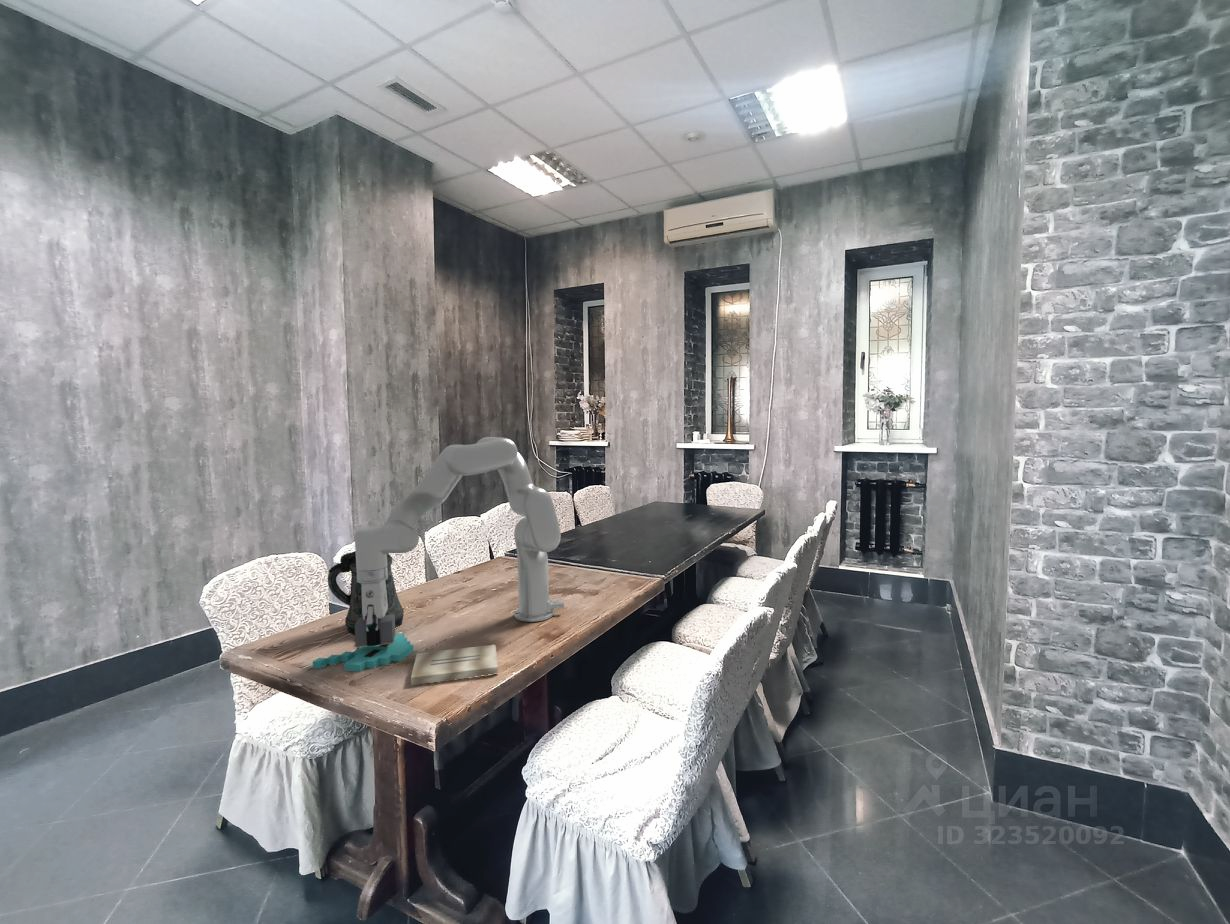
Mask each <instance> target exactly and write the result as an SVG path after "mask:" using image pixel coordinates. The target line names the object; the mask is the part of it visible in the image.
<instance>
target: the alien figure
mask: <svg viewBox="0 0 1230 924" xmlns="http://www.w3.org/2000/svg"><path fill="white" fill-rule="evenodd" d="M395 633H396V632H395ZM413 652H414V644H411V640H408V637H407V636H405V633H396V636H395V639H394V642H393V643H392V644H383V645H375V646H365V647H358V648H357V649H356V650H354V651H345V652H342V653H341V654H331V655H329V656H328V657H318V658H316V659H314V660H313V661H312V668H313V667H314V668H313V669H317V668H321V669H323V668H324V667H326V666H328V665H327V664H331V665H330V666H336V665H337V663H338V664H339V663H340V661H343V662H342V663H343V668H344V670H343V671H345V670H350V671H349V672H359V671H361V672H362V671H364V670H365V669H367V668H368V669H369V668H370V669H375V668H376V667H378V666H379V665H380V666H381V665H383V666H387V665H389V664H390V663H392V662H397V663H398V662H401V661H403V660H404V659H405V658H407V657H408V656H409V655H410V654H411V653H413ZM335 664H336V665H335ZM325 665H326V666H325ZM323 666H324V667H323ZM322 667H323V668H322Z"/></svg>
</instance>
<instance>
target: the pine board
mask: <svg viewBox="0 0 1230 924" xmlns="http://www.w3.org/2000/svg"><path fill="white" fill-rule="evenodd" d="M497 657H498V655H497V646H496V644H487V645H480V646H472V647H462V648H453V649H446V650H443V649H442V650H435V651H427V652H425V651H424V652H419V653H418V652H417V653H416V656H415V659H414V664H413V667H412V672H411V677H410V686H411V687H413V686H412V685H414V686H419V685H418V684H422V685H426V684H425V683H430V684H433V683H432V682H438V683H441V682H440V681H446V682H449V681H448V680H454V681H456V680H455V679H462V678H469V677H475V676H481V675H488V674H494V673H498V674H499V669H498V658H497ZM469 679H470V678H469ZM462 680H463V679H462Z"/></svg>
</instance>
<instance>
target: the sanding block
mask: <svg viewBox="0 0 1230 924" xmlns="http://www.w3.org/2000/svg"><path fill="white" fill-rule="evenodd" d="M375 618H376V616H373V619H375ZM373 623H375V624H376V621H373ZM366 627H367V620H366V621H365V620H364V619H363V617H361V618H358V620H357V622H356V624H355V635H354V637H355V648H360V647H365V646H367V635H366ZM379 629H380V642H381V643H380V645H383V644H392V643H393V642H394V639H395V636H396V629H395V614H392V615H385V616H384V618H383V619H380V618H379ZM379 629H378V630H379Z"/></svg>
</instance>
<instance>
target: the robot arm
mask: <svg viewBox="0 0 1230 924" xmlns="http://www.w3.org/2000/svg"><path fill="white" fill-rule="evenodd" d="M496 470H497V471H498V473H499V475H500V478H501V479H502V482H503V486H504V489H505V493H506V495H507V500H508V504H509V507H510V509H511V511H512V512H513V513H515V514H517V515H519V516H522V518H520V519H519V521H517V523H516V525H515V527H514V531H513V532H514V533H513V534H514V535H513V537H514V542H515V543H514V544H515V549H516V555H517V558H516V559H517V580H518V581H517V582H518V583H517V586H518V587H517V588H518V609H516V610H515V611H514V614H513V616H514V618H515V619H516V620H517V621H520V622H525V623H526V622H529V623H531V622H533V623H535V622H542V621H546V620H548V619H551V618H553V616H554V614H555V609H564V608H565V603H564V601H560V600H553V601H552V600H551V599H550V595H549V593H550V592H549V558H548V557H549V556H548V553H549V552H553V551H554V550H555V549H557V548H558V546H559V544H560V542H561V537H562V536H561V527H560V523H559V520H558V515H557V512H556V508H555V505H554V502H553V499H552V496H551V495H550V493H549V492H548V491H547V490H546V489H544V488H542V487H538V486H535V484H534V483H533V480H532V476H531V472H530V470H529V467H528V464H527V462H526V460H525V459H524V457H523V456H522V454H521V453H520V452H519V451H518V447H517V445H516V443H515V442H514V441H513V440H512V439H510V438H506V437H499V436H485V437H482V438H480V439H478V441H477V442H476V443H471V444H450V445H448V446H446V447H445V448H444V449H443V450H442V451H441V452H440V454H439V455H438V457H437V458H436V459H435V461H434V462H433V464H432V465H431V467H430V468H429V469H428V471H427V472H426V473H425V475H424V476H423V478H421V480H420V481H419V483H418V484H417V486H415V487H414V488H413V489H412V490H411V491H410V492H409V493H408V494H407V495H406V496H405V497H404V498H403V499H402V500H401V501H400V502H399V503H398V505H396V507H395V508H394V509H393V511H392V512H391V513H390V515H389V516H388V517H387V519H386V520H385V521H384V524H383V525H382V526H381V527H380V526H365V527H362V528H359V529H357V530H356V531H355V533H354V549H355V550H354V551H356V570H357V582H358V583H362V591H361V592H362V614H363V619H364V620H365V621H366V620H367V627H366V635H367V646H375V645H380V643H381V642H380V629H379V618H380V619H383V618H384V616H385V614H386V612H387V609H388V602H387V591H386V582H385V580H386V579H388V567H387V553H388V554H407V553H409V552H412V551H413V550H414V549H415V548H416V547H417V546H418V544H419V540H420V536H419V533H418V532H417V530H416V528H414V527H415V526H416V524H417V523H418V521H419V520H420V519H421V518H422V517H423V516H424V515H425V514H426V513H427V512H429V511H431V510H432V509H435V508H437V507H439V506H440V505H442V504H443V503H445V501H446V500H447V499H448V497H449V495H450V494H451V493H452V491H453V490H454V489H455V487H456V485H457V484H458V482H459V481H460V480H461V479H462V477H463V476H466V477H467V476H474V475H480V474H484V473H487V472H492V471H496ZM373 616H376V618H375V619H373ZM373 621H376V624H375V623H373ZM378 629H379V630H378Z"/></svg>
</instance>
